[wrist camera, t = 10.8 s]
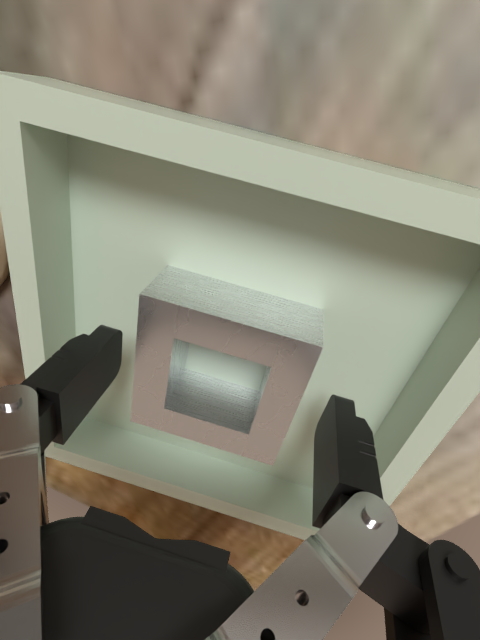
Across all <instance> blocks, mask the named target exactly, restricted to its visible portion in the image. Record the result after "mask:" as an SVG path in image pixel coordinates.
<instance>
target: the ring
mask: <svg viewBox="0 0 480 640" xmlns="http://www.w3.org/2000/svg"><path fill="white" fill-rule="evenodd" d="M189 343H192V344H195V345H199V346H202V347H205V348H209V349H212V350H216V351H219V352H222V353H226V354H229V355H232V356H236V357H239V358H242V359H246V360H249V361H253V362H256V363H259V364H263V365H266V366H267V367H266V370H265V373H264V376H263V379H262V382H261V385H260V388H259V391H257V390H254V389H251V388H247V387H244V386H241V385H237V384H234V383H231V382H227V381H224V380H221V379H218V378H214V377H211V376H208V375H204V374H201V373H198V372H194V371H191V370H188V369H185V366H186V360H187V354H188V348H189ZM322 350H323V309H320V308H316V307H313V306H309V305H306V304H302V303H299V302H295V301H292V300H288V299H285V298H281V297H278V296H274V295H271V294H267V293H264V292H261V291H257V290H254V289H250V288H247V287H243V286H240V285H236V284H233V283H229V282H226V281H222V280H219V279H215V278H212V277H208V276H205V275H201V274H198V273H194V272H191V271H187V270H184V269H180V268H177V267H173V266H170V265H168V266H167V267H166V268H165V269H164V270H163V271H162V272H161V273H160V274H159V275H158V276H157V277H156V278H155V279H154V280H153V281H152V282H151V283H150V284H149V285H148V286H147V287H146V288H145V289H144V290H143V291H142V292H141V293H140V294H139V307H138V321H137V336H136V350H135V364H134V379H133V393H132V407H131V421H132V422H135V423H138V424H141V425H144V426H148V427H151V428H154V429H157V430H160V431H164V432H167V433H170V434H173V435H176V436H180V437H183V438H186V439H189V440H192V441H196V442H199V443H202V444H205V445H208V446H211V447H215V448H218V449H221V450H224V451H227V452H231V453H234V454H237V455H240V456H243V457H247V458H250V459H253V460H256V461H259V462H263V463H266V464H269V465H272V466H273V464H274V462H275V460H276V457H277V455H278V453H279V450H280V448H281V446H282V443H283V441H284V439H285V436H286V434H287V432H288V429H289V427H290V425H291V422H292V420H293V418H294V415H295V413H296V411H297V408H298V406H299V403H300V401H301V399H302V396H303V394H304V392H305V389H306V387H307V385H308V382H309V380H310V378H311V375H312V373H313V371H314V368H315V366H316V364H317V361H318V359H319V357H320V354H321V352H322Z"/></svg>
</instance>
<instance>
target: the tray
mask: <svg viewBox="0 0 480 640" xmlns="http://www.w3.org/2000/svg"><path fill="white" fill-rule="evenodd" d="M0 210H1V217H2V224H3V230H4V237H5V244H6V251H7V257H8V264H9V271H10V277H11V284H12V291H13V297H14V304H15V311H16V318H17V324H18V331H19V338H20V344H21V351H22V358H23V365H24V371H25V378H26V379H27V378H28V377H29V376H30V375H31V374H32V373H33V372H34V371H36V370H37V369H38V368H39V367H40V366H41V365H42V364H43V363H44V362H45V361H47V360H48V359H49V358H50V357H52V355H53V354H54V353H55V352H56V351H58V350H60V348H61V347H62V346H63V345H64V344H65V343H66V342H68V341H69V340H70V339H72V338H74V337H77V336H79V335H81V334H87V335H90V334H91V333H92V332H93V331H94V330H95V329H96V328H97V327H98V326H100V325H105V326H108V327H111V328H115V329H118V330H121V331H122V334H123V337H122V361H121V367H120V370H119V372H118V374H117V376H116V378H115V379H114V380H113V382H112V383H111V384H110V386H109V387H108V388H107V390H106V391H105V392H104V393H103V395H102V396H101V397H100V399H99V400H98V401H97V402H96V404H95V405H94V406H93V408H92V409H91V410H90V412H89V413H88V414H87V415H86V417H85V418H84V419H83V421H82V422H81V423H80V424H79V426H78V427H77V428H76V430H75V431H74V432H73V434H72V435H71V436H70V437H69V439H68V440H67V441H66V443H65V444H64V445H61V444H58V443H55V442H51V443H50V444H49V446H48V447H47V448H46V449H45V456H46V457H49V458H52V459H55V460H58V461H61V462H65V463H68V464H71V465H74V466H77V467H80V468H83V469H86V470H89V471H92V472H96V473H99V474H102V475H105V476H108V477H111V478H114V479H117V480H120V481H123V482H126V483H130V484H133V485H136V486H139V487H142V488H145V489H148V490H151V491H154V492H157V493H161V494H164V495H167V496H170V497H173V498H176V499H179V500H182V501H185V502H188V503H192V504H195V505H198V506H201V507H204V508H207V509H210V510H213V511H216V512H219V513H222V514H226V515H229V516H232V517H235V518H238V519H241V520H244V521H247V522H250V523H253V524H257V525H260V526H263V527H266V528H269V529H272V530H275V531H278V532H281V533H284V534H288V535H291V536H294V537H297V538H300V539H303V540H306V539H307V538H308V537H309V536H311V535H315V534H316V533H317V532H318V531H319V530H320V528H317V527H313V526H312V513H313V465H314V435H315V430H316V427H317V424H318V421H319V419H320V417H321V415H322V413H323V411H324V409H325V407H326V405H327V403H328V401H329V399H330V397H331V396H332V395H333V394H334V395H337V396H340V397H344V398H347V399H351V400H353V401H354V403H355V411H356V416H357V417H360V418H364V419H365V420H366V422H367V423H368V425H369V427H370V429H371V430H372V432H373V438H374V444H375V445H374V447H375V451H376V458H377V463H378V469H379V475H380V482H381V488H382V494H383V499H384V501H385V502H386V503H387V504H388V505H389V506H390V505H391V504H392V502H393V501H394V500H395V499H396V497H397V496H398V495H399V493H400V492H401V491H402V490H403V488H404V487H405V486H406V485H407V483H408V482H409V481H410V479H411V478H412V477H413V476H414V474H415V473H416V472H417V471H418V469H419V468H420V467H421V466H422V464H423V463H424V462H425V460H426V459H427V458H428V457H429V455H430V454H431V453H432V452H433V450H434V449H435V448H436V447H437V445H438V444H439V443H440V441H441V440H442V439H443V438H444V436H445V435H446V434H447V433H448V431H449V430H450V429H451V428H452V426H453V425H454V424H455V422H456V421H457V420H458V419H459V417H460V416H461V415H462V414H463V412H464V411H465V410H466V408H467V407H468V406H469V405H470V403H471V402H472V401H473V400H474V398H475V397H476V396H477V395H478V393H479V392H480V189H477V188H473V187H469V186H465V185H461V184H458V183H454V182H450V181H446V180H442V179H438V178H435V177H431V176H427V175H423V174H419V173H415V172H411V171H408V170H404V169H400V168H396V167H392V166H388V165H384V164H381V163H377V162H373V161H369V160H365V159H361V158H357V157H354V156H350V155H346V154H342V153H338V152H334V151H331V150H327V149H323V148H319V147H315V146H311V145H307V144H304V143H300V142H296V141H292V140H288V139H284V138H280V137H277V136H273V135H269V134H265V133H261V132H257V131H253V130H250V129H246V128H242V127H238V126H234V125H230V124H226V123H223V122H219V121H215V120H211V119H207V118H203V117H200V116H196V115H192V114H188V113H184V112H180V111H176V110H173V109H169V108H165V107H161V106H157V105H153V104H149V103H146V102H142V101H138V100H134V99H130V98H126V97H122V96H119V95H115V94H111V93H107V92H103V91H99V90H95V89H92V88H88V87H84V86H80V85H76V84H72V83H69V82H65V81H61V80H57V79H53V78H49V77H44V76H36V75H28V74H20V73H12V72H4V71H0ZM168 265H170V266H173V267H177V268H180V269H184V270H187V271H191V272H194V273H198V274H201V275H205V276H208V277H212V278H215V279H219V280H222V281H226V282H229V283H233V284H236V285H240V286H243V287H247V288H250V289H254V290H257V291H261V292H264V293H267V294H271V295H274V296H278V297H281V298H285V299H288V300H292V301H295V302H299V303H302V304H306V305H309V306H313V307H316V308H320V309H323V350H322V352H321V354H320V357H319V359H318V361H317V364H316V366H315V368H314V371H313V373H312V375H311V378H310V380H309V382H308V385H307V387H306V389H305V392H304V394H303V396H302V399H301V401H300V403H299V406H298V408H297V411H296V413H295V415H294V418H293V420H292V422H291V425H290V427H289V429H288V432H287V434H286V436H285V439H284V441H283V443H282V446H281V448H280V450H279V453H278V455H277V457H276V460H275V462H274V464H273V466H272V465H269V464H266V463H263V462H259V461H256V460H253V459H250V458H247V457H243V456H240V455H237V454H234V453H231V452H227V451H224V450H221V449H218V448H215V447H211V446H208V445H205V444H202V443H199V442H196V441H192V440H189V439H186V438H183V437H180V436H176V435H173V434H170V433H167V432H164V431H160V430H157V429H154V428H151V427H148V426H144V425H141V424H138V423H135V422H132V421H131V407H132V393H133V379H134V364H135V350H136V336H137V321H138V307H139V294H140V293H141V292H142V291H143V290H144V289H145V288H146V287H147V286H148V285H149V284H150V283H151V282H152V281H153V280H154V279H155V278H156V277H157V276H158V275H159V274H160V273H161V272H162V271H163V270H164V269H165V268H166V267H167V266H168ZM266 367H267V366H266V365H263V364H259V363H256V362H253V361H249V360H246V359H242V358H239V357H236V356H232V355H229V354H226V353H222V352H219V351H216V350H212V349H209V348H205V347H202V346H199V345H195V344H192V343H189V348H188V354H187V360H186V366H185V369H188V370H191V371H194V372H198V373H201V374H204V375H208V376H211V377H214V378H218V379H221V380H224V381H227V382H231V383H234V384H237V385H241V386H244V387H247V388H251V389H254V390H257V391H259V388H260V385H261V382H262V379H263V376H264V373H265V370H266Z"/></svg>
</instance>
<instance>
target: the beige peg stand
mask: <svg viewBox="0 0 480 640" xmlns="http://www.w3.org/2000/svg"><path fill="white" fill-rule="evenodd" d="M9 273H10V271H9V264H8V257H7V251H6V244H5V237H4V230H3V224H2V217H1V210H0V285H1V284H2V283H3V282H4V281H5V280H6V278H7V277H8V275H9Z"/></svg>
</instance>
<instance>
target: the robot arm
mask: <svg viewBox="0 0 480 640" xmlns="http://www.w3.org/2000/svg"><path fill="white" fill-rule="evenodd" d="M122 337H123V334H122V331H121V330H118V329H115V328H111V327H108V326H105V325H100V326H98V327H97V328H96V329H95V330H94V331H93V332H92V333H91V334H90V335H87V334H81V335H79V336H77V337H74V338H72V339H70V340H69V341H68V342H66V343H65V344H64V345H63V346H62V347H61V348H60V350H58V351H56V352H55V353H54V354H53V355H52V357H50V358H49V359H48V360H47V361H45V362H44V363H43V364H42V365H41V366H40V367H39V368H38V369H37V370H36V371H34V372H33V373H32V374H31V375H30V376H29V377H28V378H27V379H26V380H24V381H23V382H22V383H21V384H14V385H7V386H4V387H1V388H0V640H323V638H324V637H325V635H326V634H327V633H328V631H329V630H330V629H331V627H332V626H333V625H334V623H335V622H336V620H337V619H338V618H339V616H340V615H341V614H342V612H343V611H344V610H345V608H346V607H347V605H348V604H349V603H350V601H351V600H352V598H353V597H354V596H355V594H356V593H357V591H358V590H359V589H360V590H361V591H362V592H364V593H365V594H367V595H368V596H369V597H371V598H372V599H374V600H375V601H376V602H378V603H379V604H380V605H382V606H383V607H384V612H385V625H386V638H387V640H480V570H479V568H478V566H477V565H476V563H475V562H474V561H473V559H472V558H471V557H470V556H469V555H468V554H467V553H466V552H465V551H464V550H463V549H461V548H460V547H459V546H457V545H455V544H454V543H451V542H449V541H446V540H436V541H434V542H433V543H432V544H430V545H429V544H427V543H426V542H424V541H423V540H421V539H419V538H418V537H416V536H415V535H413V534H412V533H410V532H408V531H407V530H406V529H404V528H403V527H402V526H401V525H399V524H398V522H397V518H396V516H395V514H394V512H393V511H392V509H391V508H390V506H389V505H388V504H387V503H386V502H385V501H384V499H383V494H382V488H381V482H380V475H379V469H378V463H377V458H376V451H375V447H374V445H375V444H374V438H373V432H372V430H371V429H370V427H369V425H368V423H367V422H366V420H365V419H364V418H360V417H357V416H356V411H355V403H354V401H353V400H351V399H347V398H344V397H340V396H337V395H334V394H333V395H332V396H331V397H330V399H329V401H328V403H327V405H326V407H325V409H324V411H323V413H322V415H321V417H320V419H319V421H318V424H317V427H316V430H315V435H314V465H313V513H312V526H313V527H317V528H320V530H319V531H318V532H317V533H316V534H315V535H311V536H309V537H308V538H307V539H306V540H305V541H304V542H303V543H302V544H301V545H300V546H299V547H298V548H297V549H296V550H295V551H294V552H293V553H292V554H291V555H290V556H289V557H288V558H287V559H286V560H285V561H284V562H283V563H282V564H281V565H280V566H279V567H278V568H277V569H276V570H275V571H274V572H273V573H272V574H271V575H270V576H269V577H268V578H267V579H266V580H265V581H264V582H263V583H262V584H261V585H260V586H259V587H258V588H257V589H256V591H255V592H254V590H253V589H252V587H251V586H250V584H249V583H248V582H247V580H246V579H245V578H244V577H243V576H242V575H241V574H240V573H239V572H238V571H237V570H236V569H235V568H234V567H232V566H231V565H229V564H228V560H229V555H230V552H229V551H226V550H223V549H220V548H217V547H214V546H211V545H208V544H205V543H202V542H199V541H196V540H171V539H157V538H154V537H152V536H151V535H149V534H148V533H146V532H145V531H144V530H142V529H141V528H139V527H138V526H136V525H135V524H134V523H132V522H131V521H129V520H128V519H126V518H125V517H123V516H119V515H116V514H113V513H110V512H107V511H104V510H101V509H98V508H95V507H92V506H90V508H89V510H88V511H87V513H86V515H85V517H72V518H66V519H61V520H58V521H54V522H51V523H49V518H48V507H47V489H46V488H47V487H46V464H45V449H46V448H47V447H48V446H49V444H50V443H51V442H55V443H58V444H61V445H64V444H65V443H66V441H67V440H68V439H69V437H70V436H71V435H72V434H73V432H74V431H75V430H76V428H77V427H78V426H79V424H80V423H81V422H82V421H83V419H84V418H85V417H86V415H87V414H88V413H89V412H90V410H91V409H92V408H93V406H94V405H95V404H96V402H97V401H98V400H99V399H100V397H101V396H102V395H103V393H104V392H105V391H106V390H107V388H108V387H109V386H110V384H111V383H112V382H113V380H114V379H115V378H116V376H117V374H118V372H119V370H120V367H121V361H122Z"/></svg>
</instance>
